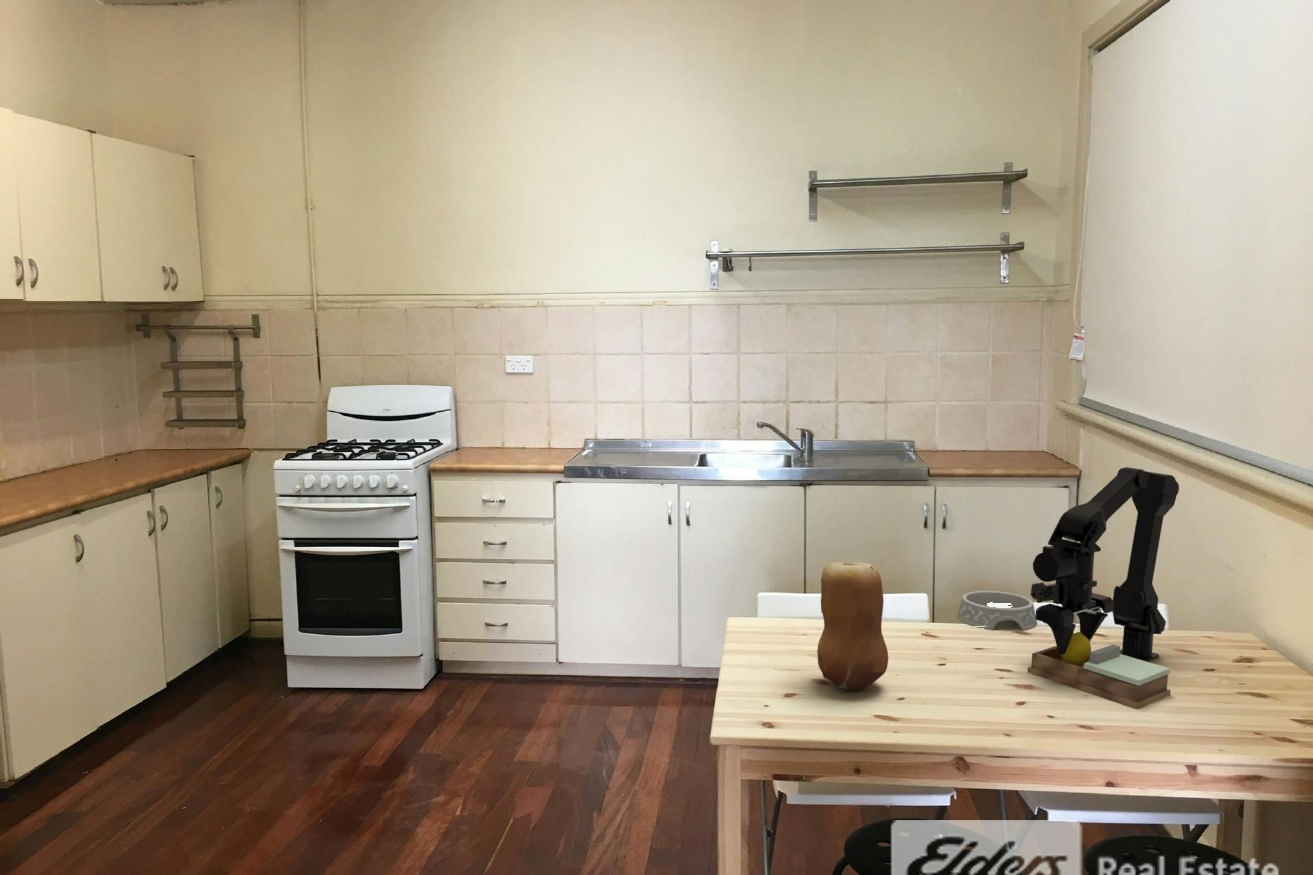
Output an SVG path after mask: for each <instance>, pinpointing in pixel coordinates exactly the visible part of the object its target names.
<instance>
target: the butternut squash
mask: <svg viewBox="0 0 1313 875" xmlns="http://www.w3.org/2000/svg"><path fill="white" fill-rule="evenodd" d="M820 584H821V586H820V589H821V590H820V609H821V614H822V618H823V624H824V625H823V630H822V632H821V635H820V637H819V640H818V644H817V650H816V651H817V664H818V668H819V670H820V671H821V674H822V677H823V678H824V679H826V680H829V681H830V682H831V683H832V684H833V686H835V687H837V688H841V689H844V690H849V691H856V692H861V691H863V690H865V689H867V688H868V687H870V686H872V684H874V683H875V682H877V681H878V679H880V678H881V677H882V676H884V675H885V673H886V671H887V670H888V664H889V653H888V647H887V644H886V642H885V638H884V635H883V632H882V622H883V614H884V613H883V612H884V611H883V610H884V590H883V582H882V578H881V575H880V573H879V570H878V569H877V568H876V567H875V566H874V565H873V564H871V563H869V562H861V561H860V562H859V561H857V562H854V561H853V562H842V561H836V562H831V563H829V564H826V565H825V566H824V567H823V569H822V573H821V577H820Z"/></svg>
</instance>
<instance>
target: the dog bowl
mask: <svg viewBox="0 0 1313 875" xmlns="http://www.w3.org/2000/svg"><path fill="white" fill-rule="evenodd" d="M961 597H962V598H961V600H960V604H959V608H958V611H957V614H956V619H957V620H958V621H960V623H963V624H965V625H967V626H970V627H973V626H985V625H986V626H985V627H976V628H977V629H981V628H984V629H983V630H987V631H993V630H994V629H995V627H996V626H997V627H1015V626H1019V627H1020V629H1021V630H1022V631H1023V632H1025V631H1030V630H1032V629H1034V628H1037V626H1038V620H1036V619H1035V616H1036V609H1035V606H1034V602H1033V601H1032V600H1031V599H1030V598H1028V597H1026V596H1024V595H1021V594H1016V593H1012V592H1006V591H998V590H975V591H970V592H967V593H965V594H963V595H962V596H961ZM990 602H993V603H1011V604H1012V605H1008V606H1013V607H1011V608H996V607H989V606H987V603H990Z"/></svg>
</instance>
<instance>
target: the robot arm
mask: <svg viewBox="0 0 1313 875" xmlns="http://www.w3.org/2000/svg"><path fill="white" fill-rule="evenodd" d="M1179 490H1180V485H1179V482H1178V481H1177V480H1176V477H1175V476H1174V475H1171V474H1165V473H1159V472H1153V471H1146V470H1144V469H1141V468H1135V467H1129V466H1125V467H1121V468H1119V470H1118V472H1117V474H1116V475H1115V476H1114V477H1113V478H1112V479H1111V480H1110V481H1109V482H1108V483H1107V484H1106V485H1105V486H1103V488H1102V489H1101V490H1100V491H1099V492H1097V493H1096V494H1095V495H1094V496H1093V497H1092V498H1091V499H1090V500H1089V501H1086V502H1085V503H1081V504H1078V505H1075V506H1072V507H1071V508H1069V509H1068V510H1066V511H1065V512H1063V514H1061V516H1060V519H1059V520H1058V521H1057V524H1056V525H1055V528H1054V529H1053V531H1052V534H1050V538H1049V539H1048V541H1047V545H1044V546H1042V552H1041V553H1038V554H1037V555H1036V556H1035V557H1034V560H1033V562H1032V569H1033V572H1034V574H1035V576H1036V577H1037V578H1038V579H1039V580H1040V581H1042V582H1036V583H1032V584H1031V587H1030V588H1031V589H1030V596H1031V598H1032V599H1033V600H1034V601H1035V600H1036V603H1037V604H1041V603H1043V602H1049V601H1052V603H1048V604H1043V605H1041V606H1039V607H1038V608H1036V609H1035V615H1036V616H1035V619H1036V620H1037V621H1039V622H1042V623H1043V624H1046V625H1047V626H1048V627H1049V628H1050V629H1051V632H1052V634H1053V638H1054V641H1055V644H1056V645H1055V646H1057V648H1058V651H1059V653H1060V654H1063V655H1064V654H1065V653H1066V650H1067V648H1068V645H1069V643H1070V640H1071V637H1072V634H1073V633H1075V632H1074V631H1075V629H1076V627H1077V626H1076V623H1073V622H1074V620H1075V615H1076V616H1077V617H1078V620H1079V632H1081V633H1082V634H1083V635H1084V636H1086V637H1087V639H1088V640H1089V642H1090V643H1091V641H1092V639H1093V637H1094V636H1095V634H1096V633H1097V631H1098V629H1099V628H1100V627H1101V625H1102V623H1103V622H1104V621H1105V619H1106V618H1107V617H1108V614H1109V613H1112V617H1113V622H1114V625H1118V626H1121V627H1123V634H1122V635H1123V636H1122V646H1121V647H1122V648H1120V654H1122V655H1125V656H1129V657H1132V658H1136V659H1139V660H1142V661H1146V662H1150V661H1151V660H1154V659H1157V658H1159V657H1160V654H1159V653H1157V652H1153V644H1154V635H1161V634H1162V633H1163V632H1164V631H1165V628H1166V623H1167V621H1166V619H1165V618H1164V616H1163V615H1162V613H1161V612H1160V611H1159V608H1158V607H1159V606H1158V605H1159V597H1158V594H1157V591H1156V590H1155V588H1154V585H1153V581H1154V575H1155V570H1156V563H1157V556H1158V551H1159V545H1160V538H1161V533H1162V526H1163V522H1164V517H1165V515H1167V513H1169V511H1171V509H1172V508H1173V507H1174V505H1175V502H1176V499H1177V496H1178V494H1179ZM1130 498H1131V500H1132V502H1133V505H1134V507H1135V509H1136V512H1137V516H1136V520H1135V526H1134V532H1133V539H1132V546H1131V550H1130V555H1129V556H1130V557H1129V563H1128V568H1127V575H1126V579H1125V580H1124V582H1122V584H1121V585H1116V586H1115V587H1114V589H1113V597H1111V596H1108V595H1103V594H1098V593H1095V592H1093V588H1094V587H1097V586H1098V580H1095V579H1094V568H1095V566H1094V564H1095V553H1098V552H1101V551H1102V550H1101V549H1102V548H1101V547H1100V546H1099V545H1098V544H1097V542H1098V541H1099V540H1100V539H1101V537H1102V536H1103V535H1104V534H1105V532H1106V530H1107V521H1108V520H1109V519H1110V518H1112V516H1113V515H1114V514H1115V513H1116V512H1117V511H1119V509H1120V508H1121V507H1123V506H1124V505H1125V504H1126V503H1127V502H1128V501H1129V500H1130ZM1054 581H1055V583H1050V582H1054ZM1044 582H1045V583H1049V584H1045V583H1044Z"/></svg>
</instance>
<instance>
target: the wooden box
mask: <svg viewBox="0 0 1313 875" xmlns="http://www.w3.org/2000/svg"><path fill="white" fill-rule="evenodd" d="M1089 661H1090V659H1089ZM1089 661H1088V662H1089ZM1027 673H1028V674H1031V673H1032V675H1034V676H1038V677H1040V678H1044V679H1046V680H1049V681H1052V682H1055V683H1059V684H1061V685H1064V686H1067V687H1069V688H1074V689H1077V690H1080V691H1083V692H1084V693H1088V694H1092V695H1094V696H1097V697H1099V698H1102V699H1106V700H1109V701H1112V702H1115V703H1118V704H1122V705H1124V706H1126V707H1130V708H1133V709H1136V710H1137V709H1140V708H1142V707H1145V706H1147V705H1149V704H1152V703H1155V702H1157V701H1159V700H1162V699H1164V698H1167V697H1170V696H1171V692H1172V689H1168V678H1169V674H1167V675H1165V676H1162V677H1160V678H1157V679H1154V680H1152V681H1149V682H1147V683H1144V684H1142V685H1139V686H1138V685H1135V684H1132V683H1128V682H1125V681H1122V680H1119V679H1116V678H1113V677H1109V676H1106V675H1103V674H1100V673H1097V672H1094V671H1090V670H1087V669H1084V666H1081V667H1079V666H1076V665H1073V664H1070V663H1067V662H1064V661H1063V659H1062V656H1061V654H1060V653H1059V651H1058V648H1057V645H1054V646H1052V647H1048V648H1045V649H1042V650H1039V651H1036V652H1033V653H1031V666H1028V667H1027Z"/></svg>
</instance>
